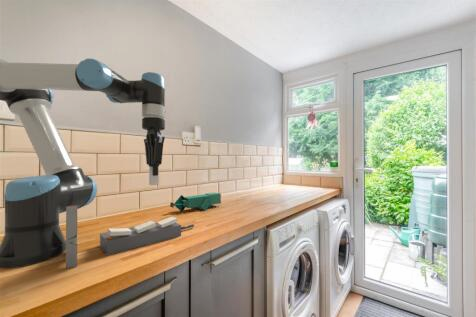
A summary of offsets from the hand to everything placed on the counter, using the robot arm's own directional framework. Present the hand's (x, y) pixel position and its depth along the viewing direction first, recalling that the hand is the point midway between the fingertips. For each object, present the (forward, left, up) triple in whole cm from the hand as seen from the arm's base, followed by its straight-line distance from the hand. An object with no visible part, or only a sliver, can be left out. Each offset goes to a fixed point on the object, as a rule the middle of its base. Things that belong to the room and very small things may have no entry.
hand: (153, 184), depth 76 cm
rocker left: (-11, 0, -15) cm, 18 cm away
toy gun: (-23, +1, -20) cm, 30 cm away
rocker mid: (-3, 0, -15) cm, 15 cm away
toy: (+37, +31, -20) cm, 52 cm away
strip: (+1, +2, -20) cm, 20 cm away
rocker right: (+5, 0, -15) cm, 15 cm away
